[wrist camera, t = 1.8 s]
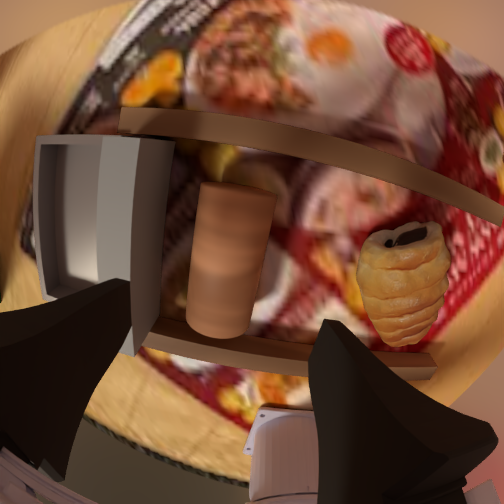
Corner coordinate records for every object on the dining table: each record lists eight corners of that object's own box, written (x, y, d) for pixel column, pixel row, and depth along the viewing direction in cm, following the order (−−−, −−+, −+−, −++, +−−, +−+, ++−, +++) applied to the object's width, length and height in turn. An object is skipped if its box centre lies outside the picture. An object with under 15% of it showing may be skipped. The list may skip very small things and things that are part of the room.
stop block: (159, 314, 19) (134, 357, 15) (135, 307, 19) (105, 347, 14) (175, 141, 15) (140, 138, 10) (145, 138, 15) (103, 136, 10)
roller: (258, 314, 18) (234, 347, 15) (205, 295, 19) (173, 321, 16) (285, 194, 15) (263, 201, 12) (222, 180, 17) (185, 183, 13)
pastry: (434, 319, 19) (455, 346, 15) (362, 346, 20) (375, 378, 16) (431, 210, 16) (462, 225, 12) (345, 236, 17) (363, 257, 13)
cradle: (130, 307, 19) (116, 325, 17) (59, 285, 19) (42, 299, 17) (140, 136, 15) (121, 135, 13) (58, 135, 15) (36, 135, 13)
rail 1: (485, 220, 16) (500, 227, 14) (132, 134, 15) (117, 132, 13) (489, 202, 15) (505, 207, 13) (136, 111, 14) (121, 107, 13)
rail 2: (421, 365, 20) (429, 379, 18) (125, 322, 20) (114, 337, 18) (428, 353, 20) (437, 366, 18) (124, 307, 19) (112, 321, 17)
